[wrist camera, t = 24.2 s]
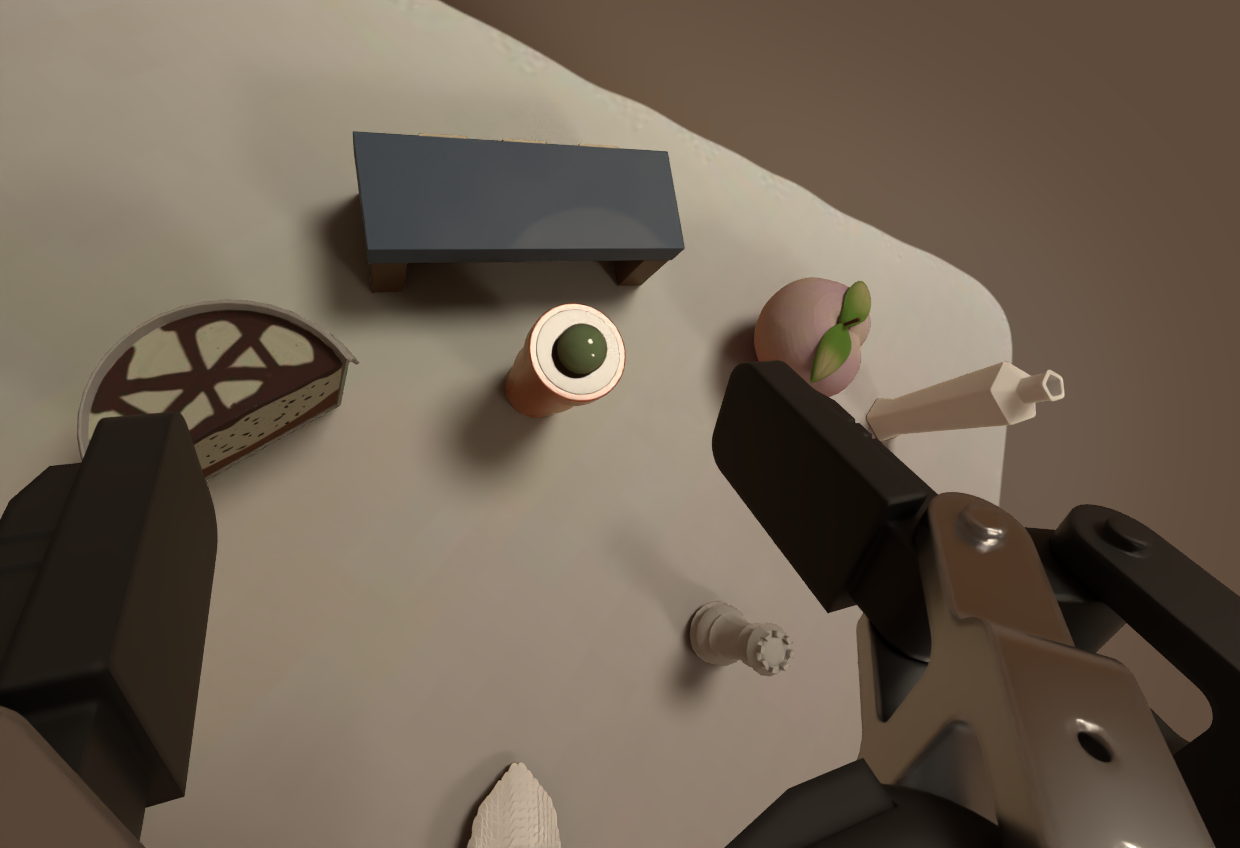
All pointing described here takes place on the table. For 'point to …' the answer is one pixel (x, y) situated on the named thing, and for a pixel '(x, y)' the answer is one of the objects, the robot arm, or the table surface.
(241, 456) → the wedge shaped tart
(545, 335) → the pot
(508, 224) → the dark blue bench
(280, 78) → the table surface
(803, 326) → the decorative fruit
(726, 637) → the rook chess piece
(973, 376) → the perfume bottle
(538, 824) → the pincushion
